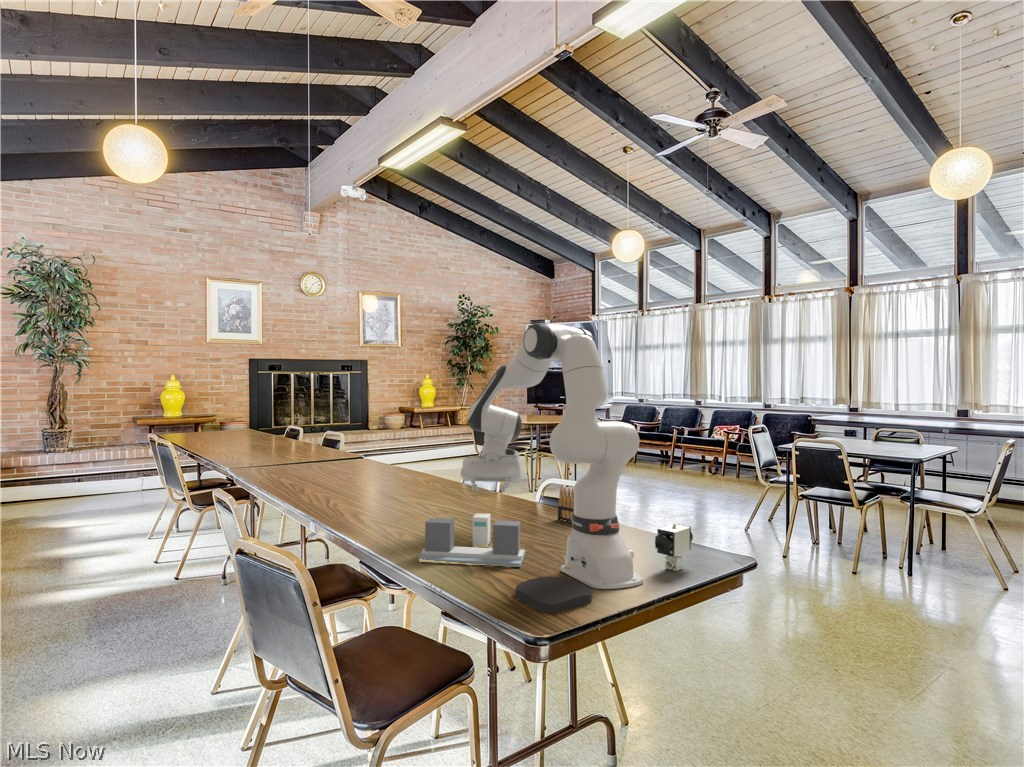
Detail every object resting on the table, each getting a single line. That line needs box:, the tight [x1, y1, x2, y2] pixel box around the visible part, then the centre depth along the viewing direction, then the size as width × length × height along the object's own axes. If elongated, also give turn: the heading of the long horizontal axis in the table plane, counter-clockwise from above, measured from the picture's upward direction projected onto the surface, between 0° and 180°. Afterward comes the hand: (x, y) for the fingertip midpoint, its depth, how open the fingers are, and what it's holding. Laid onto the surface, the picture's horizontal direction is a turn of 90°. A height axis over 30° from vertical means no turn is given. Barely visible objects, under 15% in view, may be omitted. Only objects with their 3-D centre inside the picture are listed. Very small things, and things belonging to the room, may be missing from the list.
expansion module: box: [472, 512, 492, 547], centre depth 168 cm, size 5×4×9 cm
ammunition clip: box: [557, 486, 574, 523], centre depth 197 cm, size 11×2×12 cm, turn 45°
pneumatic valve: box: [654, 523, 694, 572], centre depth 148 cm, size 6×12×12 cm, turn 133°
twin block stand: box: [417, 517, 526, 568], centre depth 155 cm, size 12×28×10 cm, turn 82°
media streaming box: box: [514, 575, 593, 614], centre depth 127 cm, size 15×15×3 cm
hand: (488, 490), depth 179 cm, fingers open, 8 cm apart
